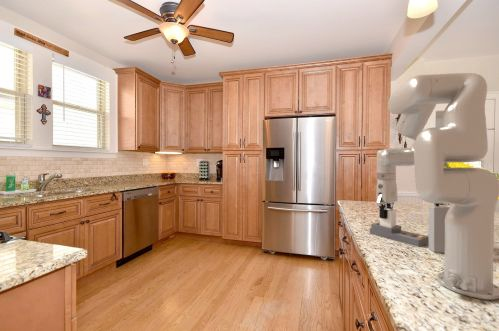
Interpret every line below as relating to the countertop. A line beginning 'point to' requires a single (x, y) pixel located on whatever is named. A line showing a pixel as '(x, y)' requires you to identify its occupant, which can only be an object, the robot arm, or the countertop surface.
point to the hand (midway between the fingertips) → (386, 217)
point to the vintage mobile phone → (437, 228)
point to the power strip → (398, 235)
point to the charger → (389, 219)
